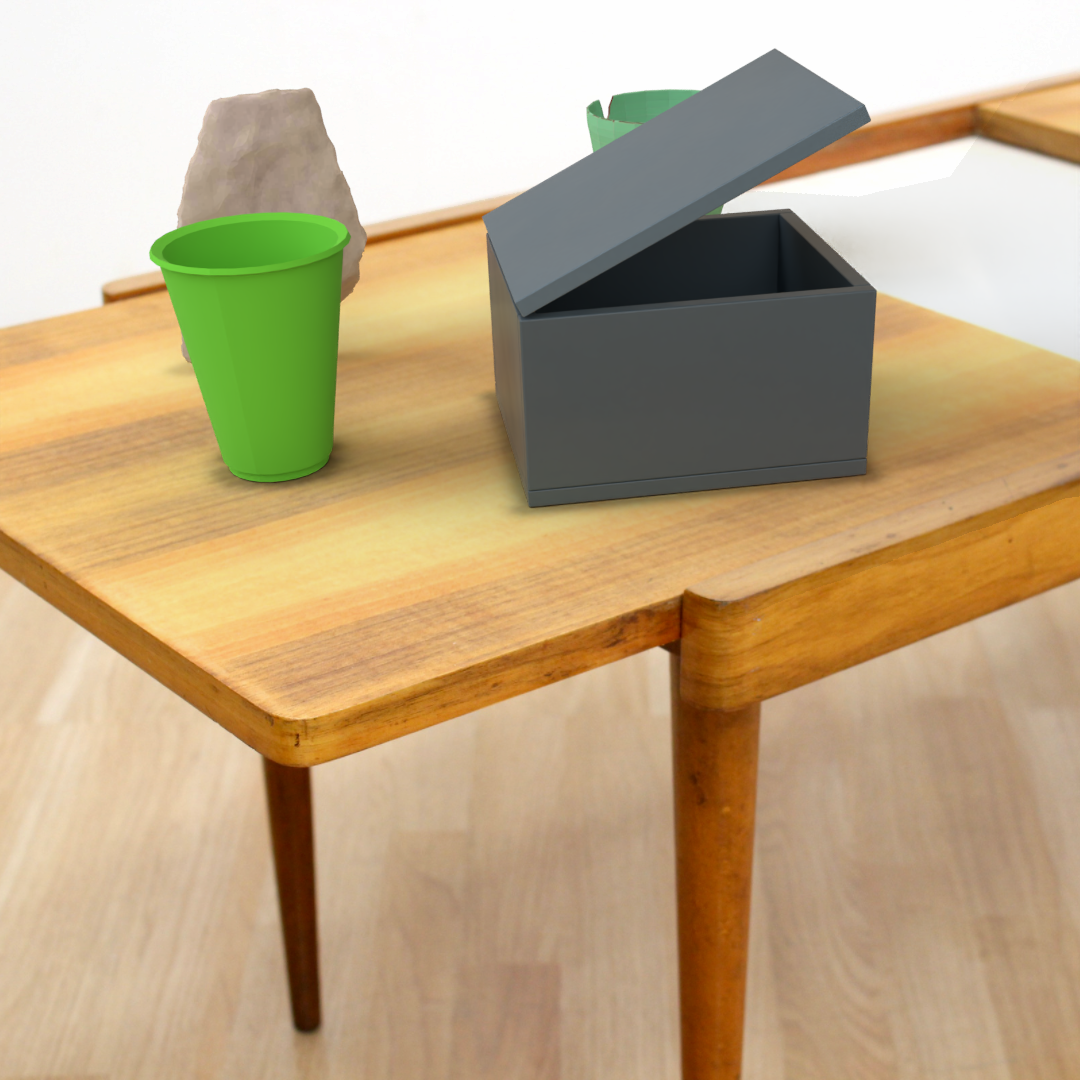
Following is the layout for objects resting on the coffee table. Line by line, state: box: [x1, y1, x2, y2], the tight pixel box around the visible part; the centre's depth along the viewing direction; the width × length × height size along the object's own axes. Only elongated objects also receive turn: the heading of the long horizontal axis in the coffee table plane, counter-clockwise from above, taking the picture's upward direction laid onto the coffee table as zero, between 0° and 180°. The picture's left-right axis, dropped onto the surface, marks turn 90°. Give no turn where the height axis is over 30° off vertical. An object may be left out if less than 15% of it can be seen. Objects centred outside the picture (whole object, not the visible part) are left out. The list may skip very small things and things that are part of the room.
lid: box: [481, 47, 872, 317], centre depth 70 cm, size 16×14×1 cm
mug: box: [585, 88, 725, 215], centre depth 96 cm, size 15×10×10 cm
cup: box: [148, 212, 351, 483], centre depth 73 cm, size 9×9×11 cm
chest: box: [485, 208, 878, 508], centre depth 74 cm, size 16×14×9 cm
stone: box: [176, 87, 368, 364], centre depth 84 cm, size 11×3×15 cm, turn 88°
